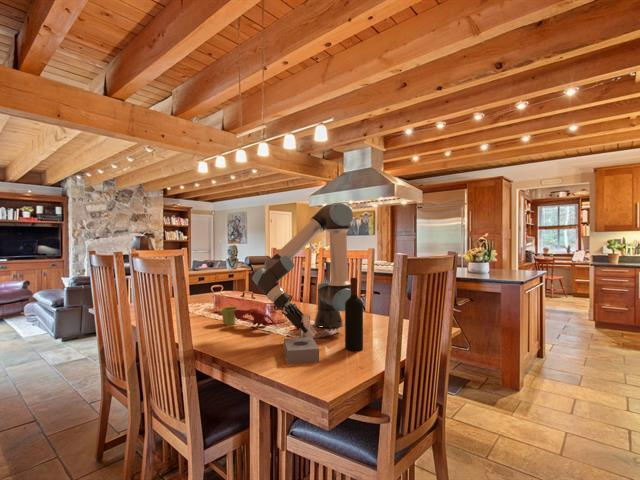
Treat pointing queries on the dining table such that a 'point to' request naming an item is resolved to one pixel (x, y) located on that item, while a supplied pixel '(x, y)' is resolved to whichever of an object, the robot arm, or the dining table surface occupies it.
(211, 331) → the dining table surface
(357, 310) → the wine bottle
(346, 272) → the robot arm
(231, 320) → the plant pot
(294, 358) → the charcoal hole block
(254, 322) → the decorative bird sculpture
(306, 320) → the steel pin
